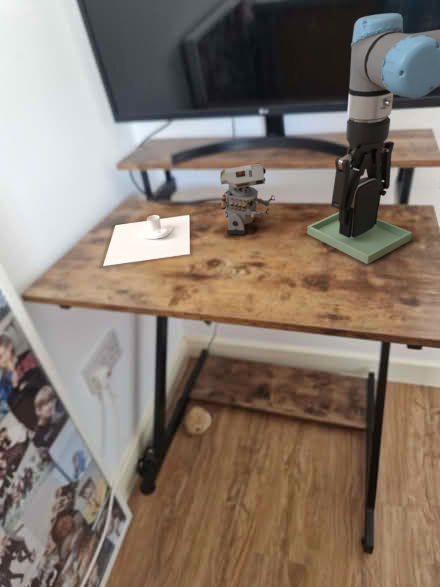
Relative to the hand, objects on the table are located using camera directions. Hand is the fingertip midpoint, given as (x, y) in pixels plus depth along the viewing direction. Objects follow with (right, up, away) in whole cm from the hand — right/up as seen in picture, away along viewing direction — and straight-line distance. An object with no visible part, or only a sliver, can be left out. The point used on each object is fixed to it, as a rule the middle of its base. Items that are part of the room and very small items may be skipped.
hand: (357, 228), depth 87 cm
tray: (0, -2, +1) cm, 2 cm away
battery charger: (0, -1, 0) cm, 1 cm away
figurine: (-23, +2, +11) cm, 25 cm away
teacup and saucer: (-47, -1, +12) cm, 49 cm away
